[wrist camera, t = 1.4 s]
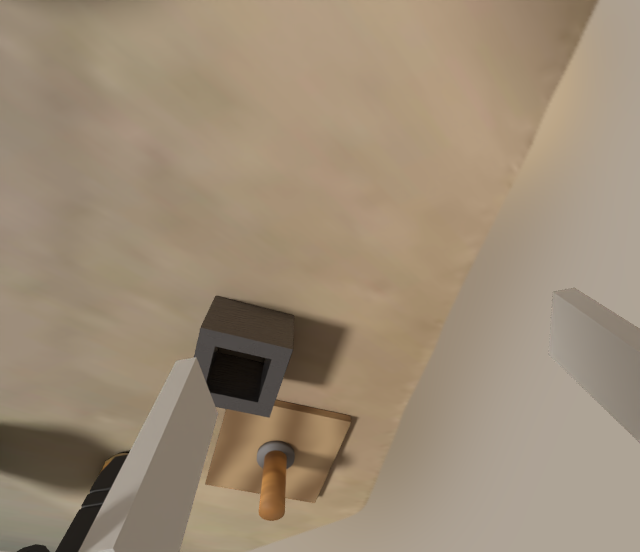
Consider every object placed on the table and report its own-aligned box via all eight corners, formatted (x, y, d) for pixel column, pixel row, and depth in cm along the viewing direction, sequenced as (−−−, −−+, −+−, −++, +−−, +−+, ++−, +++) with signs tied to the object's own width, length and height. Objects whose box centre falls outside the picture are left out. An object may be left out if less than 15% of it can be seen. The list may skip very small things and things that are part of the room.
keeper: (207, 477, 46) (189, 544, 39) (231, 390, 41) (216, 449, 34) (314, 495, 49) (317, 563, 41) (350, 415, 44) (360, 476, 36)
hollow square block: (200, 360, 40) (184, 400, 34) (215, 295, 37) (200, 327, 31) (273, 376, 41) (269, 417, 35) (293, 315, 38) (292, 349, 33)
